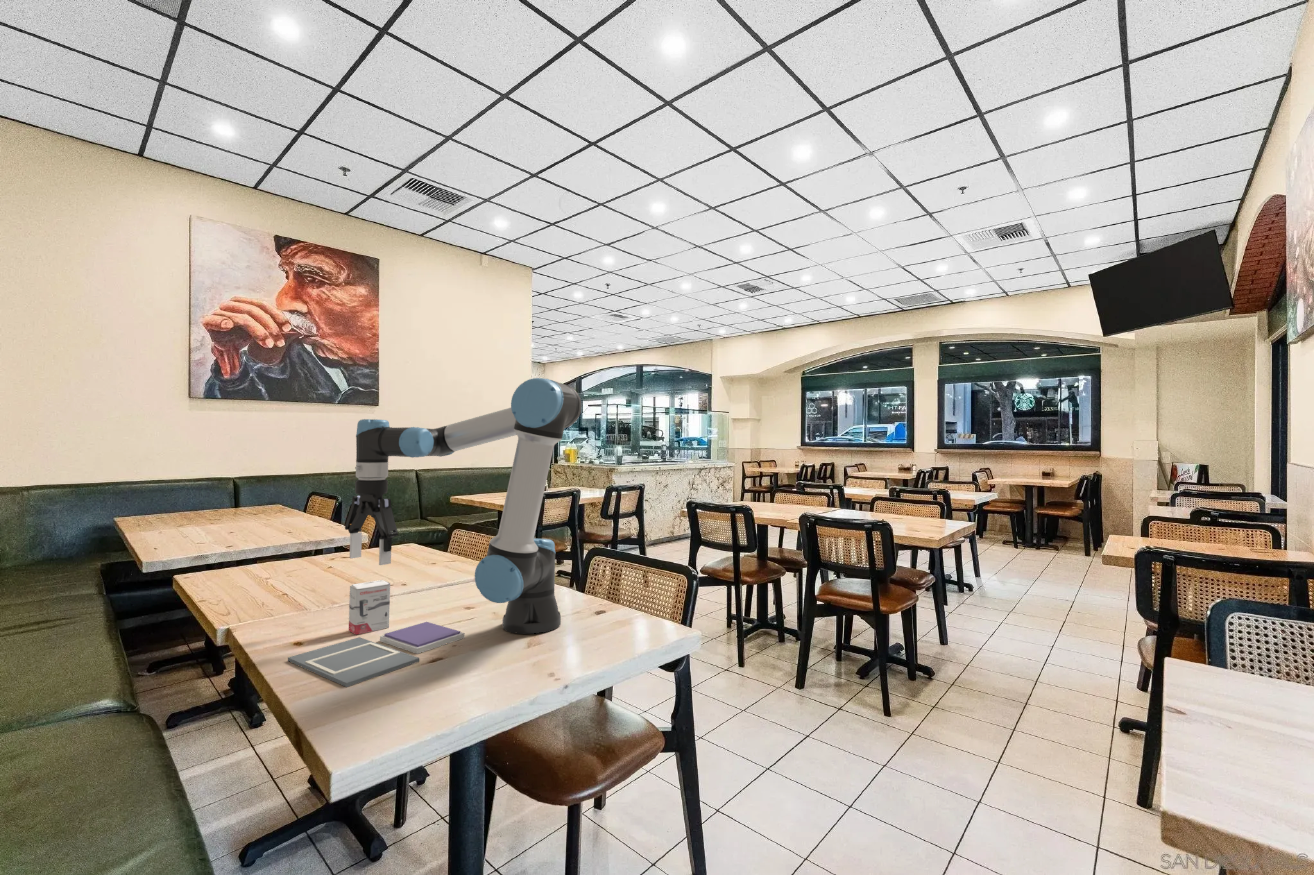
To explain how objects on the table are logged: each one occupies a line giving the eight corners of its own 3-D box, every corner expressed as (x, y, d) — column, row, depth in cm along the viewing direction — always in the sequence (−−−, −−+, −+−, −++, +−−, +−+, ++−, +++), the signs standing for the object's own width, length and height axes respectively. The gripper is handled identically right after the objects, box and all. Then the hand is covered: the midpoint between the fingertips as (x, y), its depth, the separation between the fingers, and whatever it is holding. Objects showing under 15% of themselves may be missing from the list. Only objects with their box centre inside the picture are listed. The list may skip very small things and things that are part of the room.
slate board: (419, 661, 125) (419, 656, 125) (346, 687, 111) (346, 682, 111) (359, 640, 138) (359, 636, 138) (287, 661, 124) (287, 656, 124)
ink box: (355, 635, 141) (355, 588, 141) (347, 631, 145) (348, 584, 145) (390, 627, 148) (391, 582, 148) (383, 623, 151) (383, 578, 151)
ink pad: (464, 637, 140) (464, 631, 140) (417, 653, 129) (417, 646, 129) (427, 627, 148) (427, 620, 148) (379, 641, 137) (379, 634, 137)
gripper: (331, 477, 150) (329, 557, 150) (385, 481, 137) (383, 569, 136) (359, 476, 157) (357, 552, 156) (413, 480, 143) (411, 564, 143)
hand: (369, 560), depth 146 cm, fingers open, 13 cm apart
